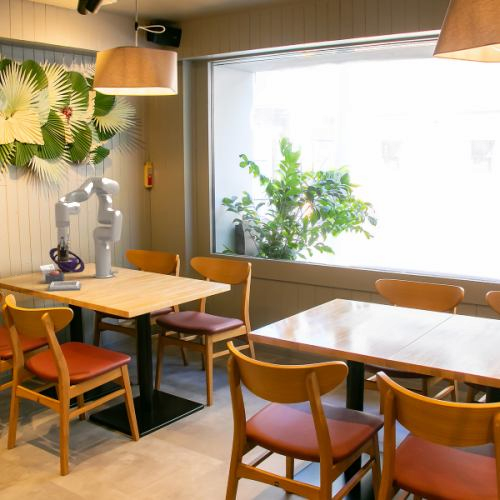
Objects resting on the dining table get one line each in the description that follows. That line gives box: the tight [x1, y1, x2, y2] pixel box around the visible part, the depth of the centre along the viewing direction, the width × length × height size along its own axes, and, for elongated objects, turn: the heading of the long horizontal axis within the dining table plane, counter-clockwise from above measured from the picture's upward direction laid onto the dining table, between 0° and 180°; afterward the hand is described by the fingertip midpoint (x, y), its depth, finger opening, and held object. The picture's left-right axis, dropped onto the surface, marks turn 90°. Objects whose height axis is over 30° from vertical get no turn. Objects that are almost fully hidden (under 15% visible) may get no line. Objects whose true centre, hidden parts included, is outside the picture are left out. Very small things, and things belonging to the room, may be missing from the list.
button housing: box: [44, 271, 65, 285], centre depth 371 cm, size 10×10×5 cm
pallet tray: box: [46, 280, 83, 292], centre depth 355 cm, size 18×16×2 cm
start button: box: [49, 270, 60, 275], centre depth 371 cm, size 5×5×3 cm
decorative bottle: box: [48, 233, 85, 273], centre depth 407 cm, size 22×21×25 cm
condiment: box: [55, 241, 71, 262], centre depth 351 cm, size 7×8×12 cm
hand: (63, 255), depth 352 cm, fingers closed on condiment, 6 cm apart
